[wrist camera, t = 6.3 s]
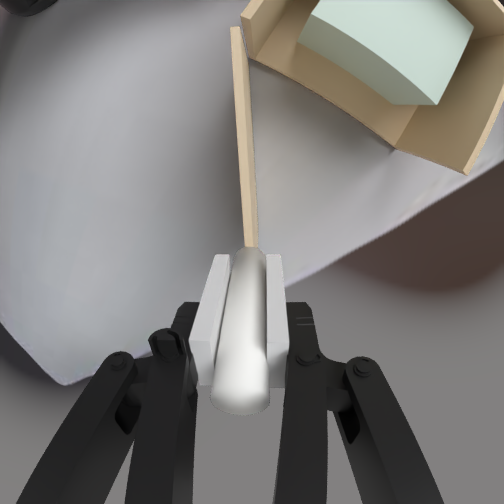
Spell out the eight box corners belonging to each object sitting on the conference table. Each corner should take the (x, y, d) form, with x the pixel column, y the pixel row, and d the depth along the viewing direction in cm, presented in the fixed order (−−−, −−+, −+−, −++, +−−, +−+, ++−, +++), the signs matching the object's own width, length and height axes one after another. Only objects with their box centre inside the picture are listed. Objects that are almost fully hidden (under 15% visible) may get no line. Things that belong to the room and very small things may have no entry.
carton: (248, 57, 22) (240, 15, 11) (326, -49, 15) (355, -108, 4) (395, 149, 25) (467, 175, 14) (454, 41, 18) (525, 29, 7)
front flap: (235, 65, 22) (154, -73, 2) (256, 63, 22) (243, -87, 2) (246, 231, 29) (222, 436, 10) (265, 230, 29) (270, 437, 10)
